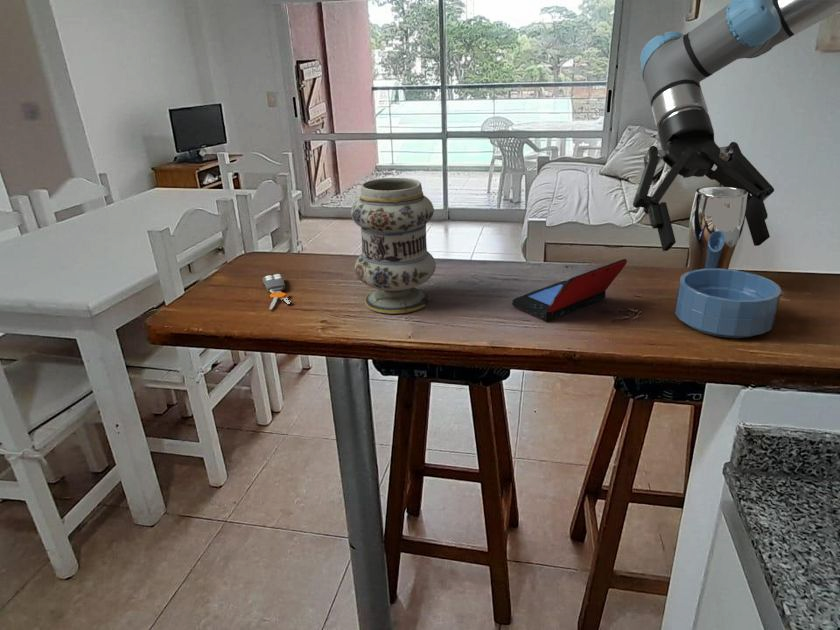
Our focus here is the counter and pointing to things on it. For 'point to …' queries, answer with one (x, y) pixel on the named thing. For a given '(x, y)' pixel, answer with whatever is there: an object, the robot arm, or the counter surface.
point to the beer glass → (715, 226)
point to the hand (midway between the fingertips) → (715, 244)
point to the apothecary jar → (394, 244)
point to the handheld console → (569, 293)
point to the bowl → (727, 302)
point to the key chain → (275, 288)
